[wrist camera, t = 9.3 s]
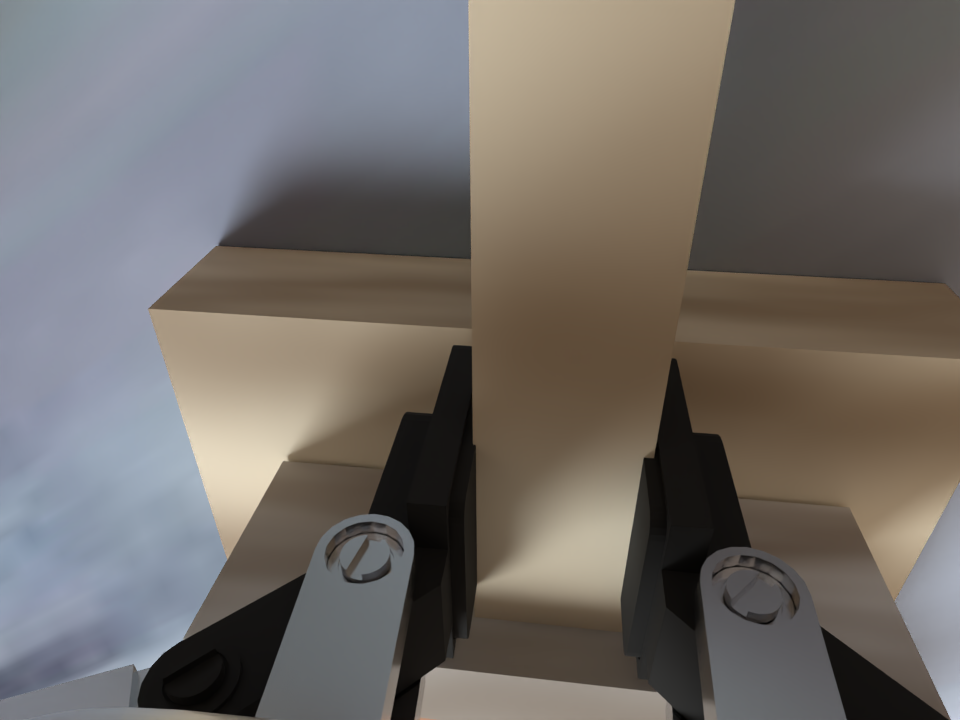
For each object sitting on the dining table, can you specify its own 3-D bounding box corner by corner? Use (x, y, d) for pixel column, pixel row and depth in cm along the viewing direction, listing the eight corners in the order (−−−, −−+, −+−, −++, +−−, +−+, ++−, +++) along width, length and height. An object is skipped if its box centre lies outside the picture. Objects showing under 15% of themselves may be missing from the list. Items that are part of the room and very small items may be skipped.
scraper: (153, -164, 9) (-152, -236, 5) (1126, -182, 8) (1645, -295, 4) (293, 509, 16) (203, 691, 12) (828, 558, 14) (918, 778, 11)
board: (216, 245, 16) (148, 308, 13) (944, 283, 14) (1023, 362, 12) (304, 616, 23) (271, 700, 21) (779, 668, 22) (805, 765, 19)
